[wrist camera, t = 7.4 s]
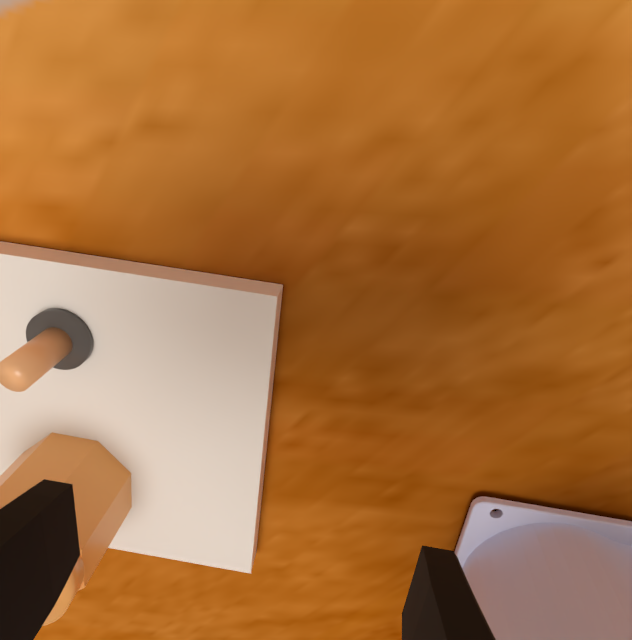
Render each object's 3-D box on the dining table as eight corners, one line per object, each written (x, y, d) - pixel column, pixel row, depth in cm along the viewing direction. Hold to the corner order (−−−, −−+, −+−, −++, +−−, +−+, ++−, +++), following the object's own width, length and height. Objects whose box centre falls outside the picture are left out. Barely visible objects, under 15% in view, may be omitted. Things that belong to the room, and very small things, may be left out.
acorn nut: (131, 446, 21) (49, 565, 16) (133, 530, 23) (61, 661, 18) (18, 424, 21) (-101, 535, 16) (30, 510, 23) (-72, 633, 18)
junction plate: (283, 284, 18) (259, 332, 15) (256, 552, 24) (234, 634, 21) (-128, 221, 19) (-249, 252, 15) (-58, 495, 25) (-133, 565, 21)
